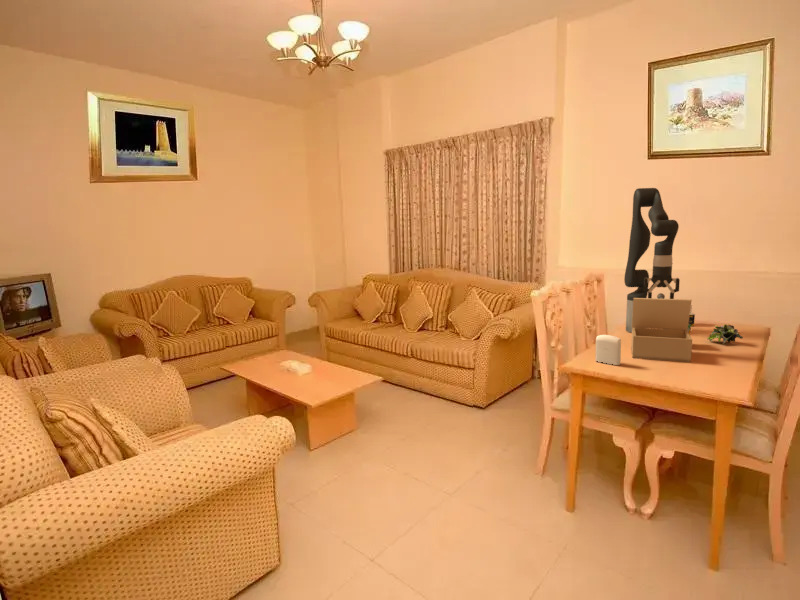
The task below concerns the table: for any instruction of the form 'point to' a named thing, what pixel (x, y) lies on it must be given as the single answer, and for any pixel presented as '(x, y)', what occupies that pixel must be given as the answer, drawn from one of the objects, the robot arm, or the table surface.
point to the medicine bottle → (691, 317)
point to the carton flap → (661, 313)
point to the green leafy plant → (725, 333)
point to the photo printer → (608, 349)
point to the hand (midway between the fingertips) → (660, 300)
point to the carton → (661, 344)
